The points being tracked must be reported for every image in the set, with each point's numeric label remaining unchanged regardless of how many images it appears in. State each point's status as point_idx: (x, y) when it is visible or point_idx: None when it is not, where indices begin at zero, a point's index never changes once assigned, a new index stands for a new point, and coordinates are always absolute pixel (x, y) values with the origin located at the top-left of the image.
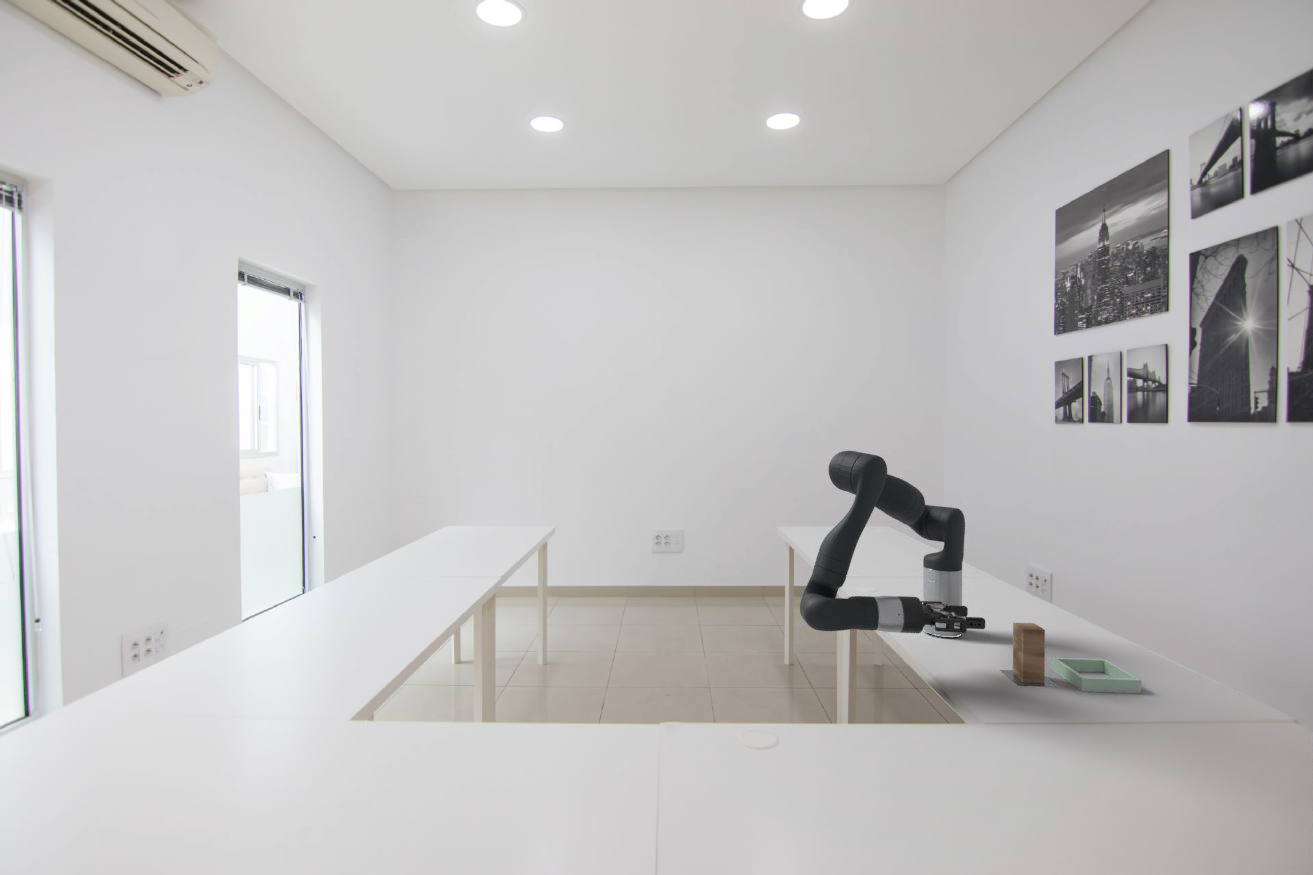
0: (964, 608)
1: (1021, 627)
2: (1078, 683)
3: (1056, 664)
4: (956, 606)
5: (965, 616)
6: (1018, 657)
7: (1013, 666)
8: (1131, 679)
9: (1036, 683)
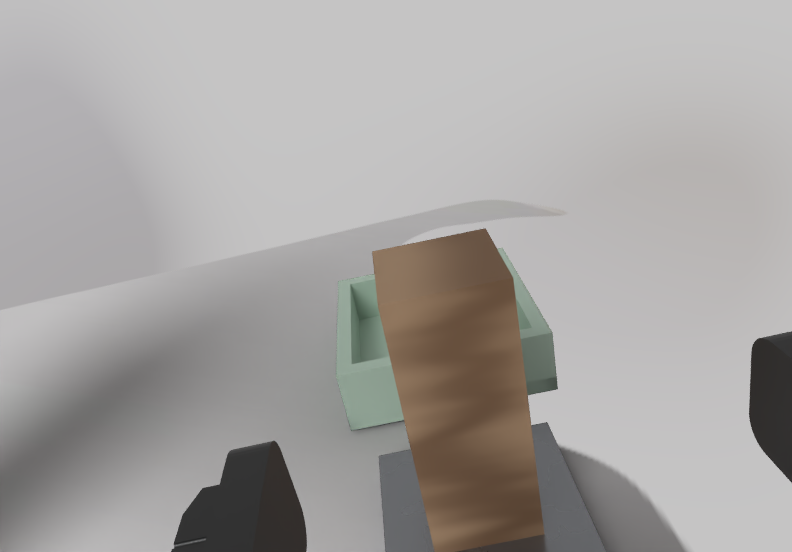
0: (276, 476)
1: (479, 282)
2: (530, 363)
3: (378, 381)
4: (251, 546)
5: (305, 544)
6: (479, 456)
7: (433, 524)
8: (504, 258)
9: (540, 486)
